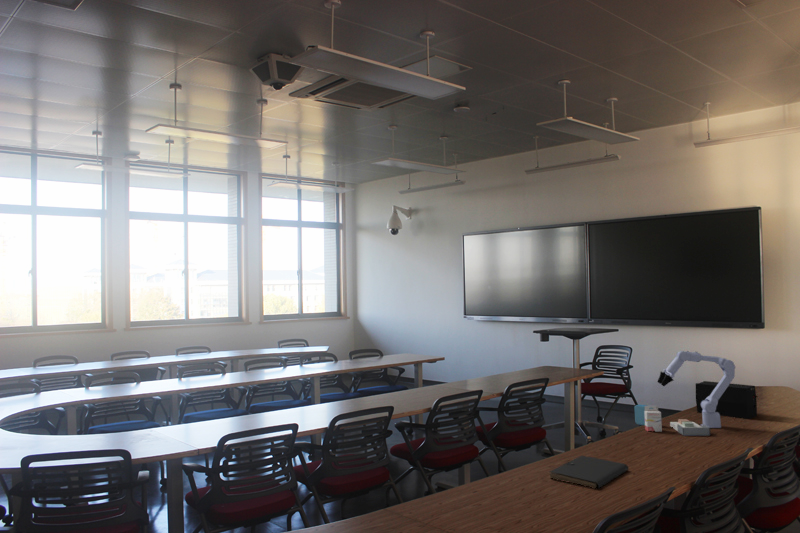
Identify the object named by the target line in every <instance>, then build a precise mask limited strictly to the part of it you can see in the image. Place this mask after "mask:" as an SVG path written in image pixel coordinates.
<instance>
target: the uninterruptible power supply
mask: <svg viewBox="0 0 800 533" xmlns="http://www.w3.org/2000/svg"><path fill="white" fill-rule="evenodd" d="M719 382H720V381H709V380H708V381H707V380H703V381H701V382H697V383H695V403H696V404H695V406H696V410H697V411H696V412H697V413H699V414H702V410H703V409H702V407H701V402H702V401H703V400H705V399H706V398H707V397H708V396H710V394H711V393H712V392H713V390H714V389H715V387H716V386H717V384H718V383H719ZM756 393H757V392H756V386H755V385H753V384H752V385H751V384H749V385H748V384H740V383H730V384H729V386H728V387H727V389H726V390H725V391H724V393H723V394H722V396H721V397H720V398H719V400H718V404H717V406H716V410H715V412H718V413H719V414H720V417H726V418H727V417H728V418H734V417H735V418H736V419H741V418H743V419H742V420H750V419H752V418H755V417H758V411H757V410H758V408H757V407H758V406H757V404H758V403H757V402H758V401H757V398H758V395H757V394H756Z"/></svg>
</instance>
